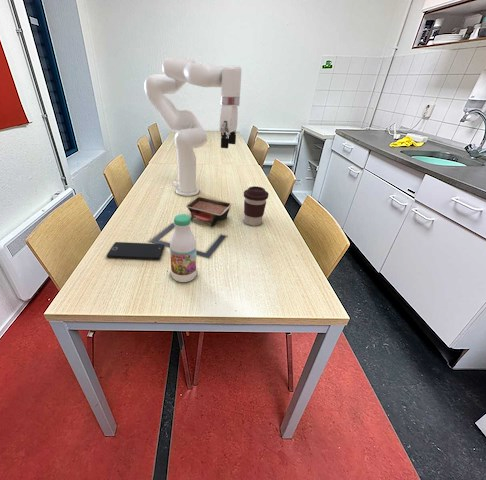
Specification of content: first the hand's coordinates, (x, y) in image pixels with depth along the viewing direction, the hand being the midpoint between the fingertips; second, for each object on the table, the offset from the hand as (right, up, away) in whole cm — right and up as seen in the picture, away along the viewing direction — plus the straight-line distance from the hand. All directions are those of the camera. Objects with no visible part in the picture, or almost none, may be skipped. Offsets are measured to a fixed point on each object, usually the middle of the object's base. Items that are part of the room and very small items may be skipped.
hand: (228, 145), depth 118 cm
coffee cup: (+10, -34, -1) cm, 35 cm away
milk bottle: (-16, -52, -33) cm, 64 cm away
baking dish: (-8, -32, +1) cm, 33 cm away
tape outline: (-16, -40, -14) cm, 45 cm away
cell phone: (-34, -45, -23) cm, 61 cm away
